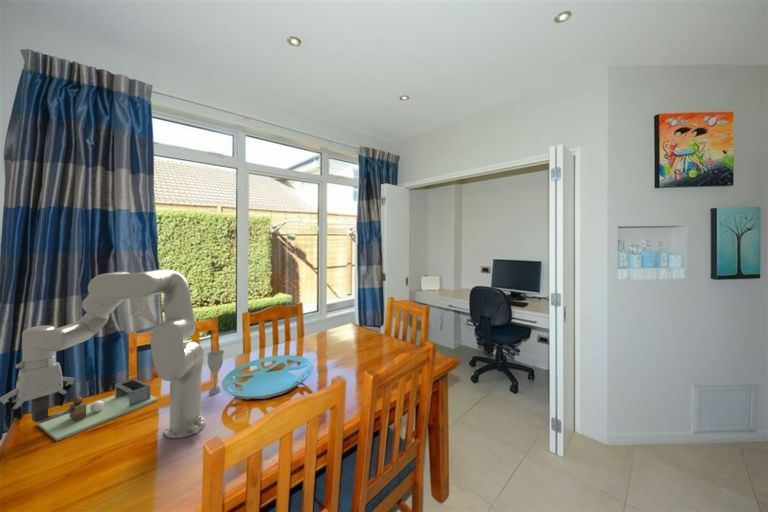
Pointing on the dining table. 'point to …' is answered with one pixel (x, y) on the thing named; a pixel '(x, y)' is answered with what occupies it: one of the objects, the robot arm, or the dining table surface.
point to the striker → (41, 412)
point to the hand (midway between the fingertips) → (39, 411)
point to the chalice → (215, 367)
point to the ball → (97, 406)
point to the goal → (133, 391)
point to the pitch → (91, 417)
